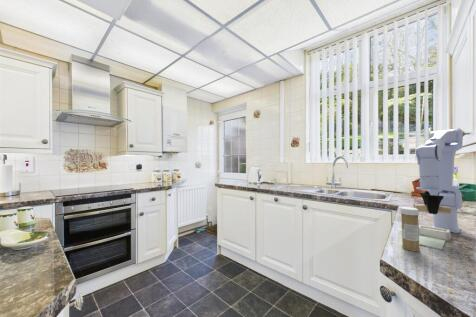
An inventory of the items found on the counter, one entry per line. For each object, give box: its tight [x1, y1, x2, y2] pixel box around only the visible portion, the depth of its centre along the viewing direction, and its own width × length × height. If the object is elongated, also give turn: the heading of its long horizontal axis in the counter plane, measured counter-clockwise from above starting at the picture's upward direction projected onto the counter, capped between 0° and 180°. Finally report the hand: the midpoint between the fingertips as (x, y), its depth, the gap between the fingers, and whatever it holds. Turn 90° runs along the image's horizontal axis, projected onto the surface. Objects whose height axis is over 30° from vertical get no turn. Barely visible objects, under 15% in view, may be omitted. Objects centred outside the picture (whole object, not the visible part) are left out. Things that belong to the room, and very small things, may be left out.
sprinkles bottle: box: [399, 206, 421, 252], centre depth 65 cm, size 5×5×14 cm
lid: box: [413, 203, 451, 214], centre depth 75 cm, size 5×9×3 cm, turn 53°
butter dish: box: [419, 224, 451, 242], centre depth 76 cm, size 5×9×3 cm, turn 39°
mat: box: [419, 235, 447, 251], centre depth 70 cm, size 11×7×1 cm, turn 129°
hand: (431, 212), depth 75 cm, fingers closed on lid, 5 cm apart
